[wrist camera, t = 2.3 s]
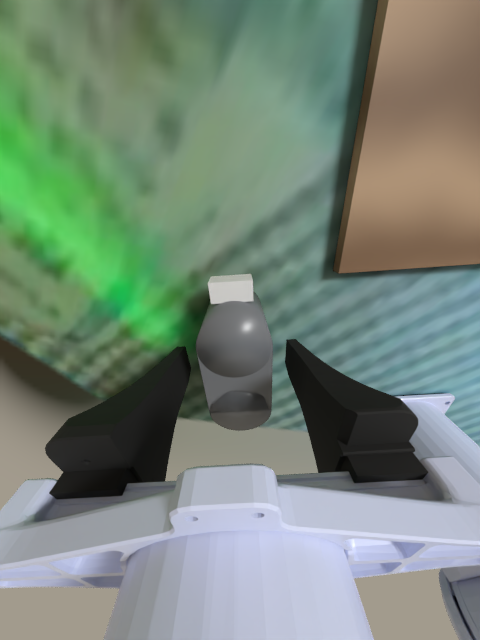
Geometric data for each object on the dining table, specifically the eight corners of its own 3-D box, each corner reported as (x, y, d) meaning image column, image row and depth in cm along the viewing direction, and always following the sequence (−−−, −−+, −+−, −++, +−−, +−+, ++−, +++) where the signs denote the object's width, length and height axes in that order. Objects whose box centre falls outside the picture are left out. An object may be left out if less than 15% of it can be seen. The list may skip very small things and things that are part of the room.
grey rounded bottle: (262, 376, 17) (271, 428, 13) (219, 378, 17) (214, 432, 13) (260, 266, 13) (273, 289, 8) (202, 270, 13) (184, 295, 8)
